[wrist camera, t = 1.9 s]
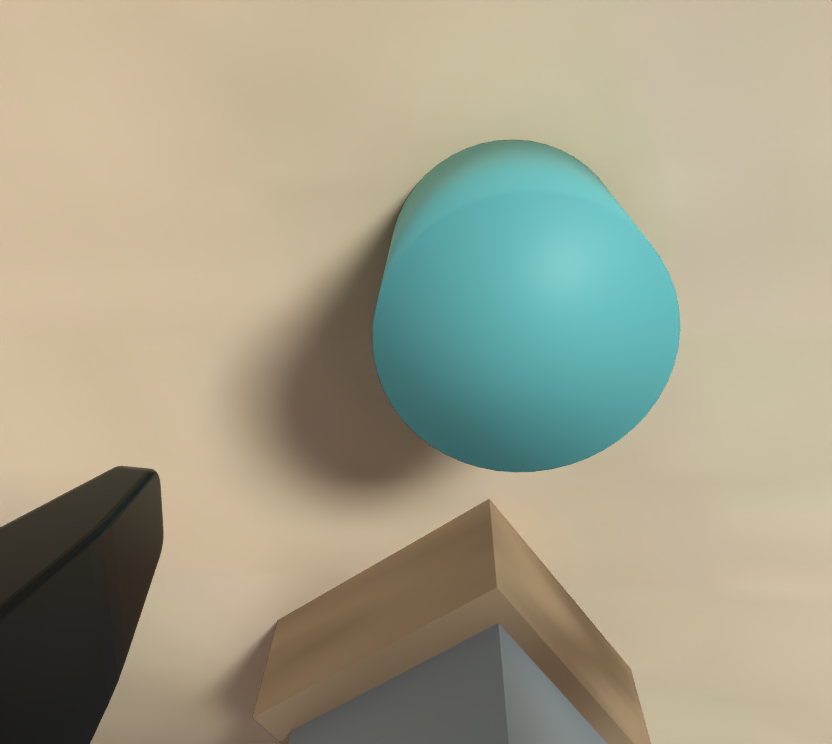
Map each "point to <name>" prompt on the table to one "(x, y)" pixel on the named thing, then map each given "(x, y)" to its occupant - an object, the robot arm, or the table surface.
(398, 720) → the upper block
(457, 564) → the lower block
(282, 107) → the table surface
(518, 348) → the teal rounded dome
